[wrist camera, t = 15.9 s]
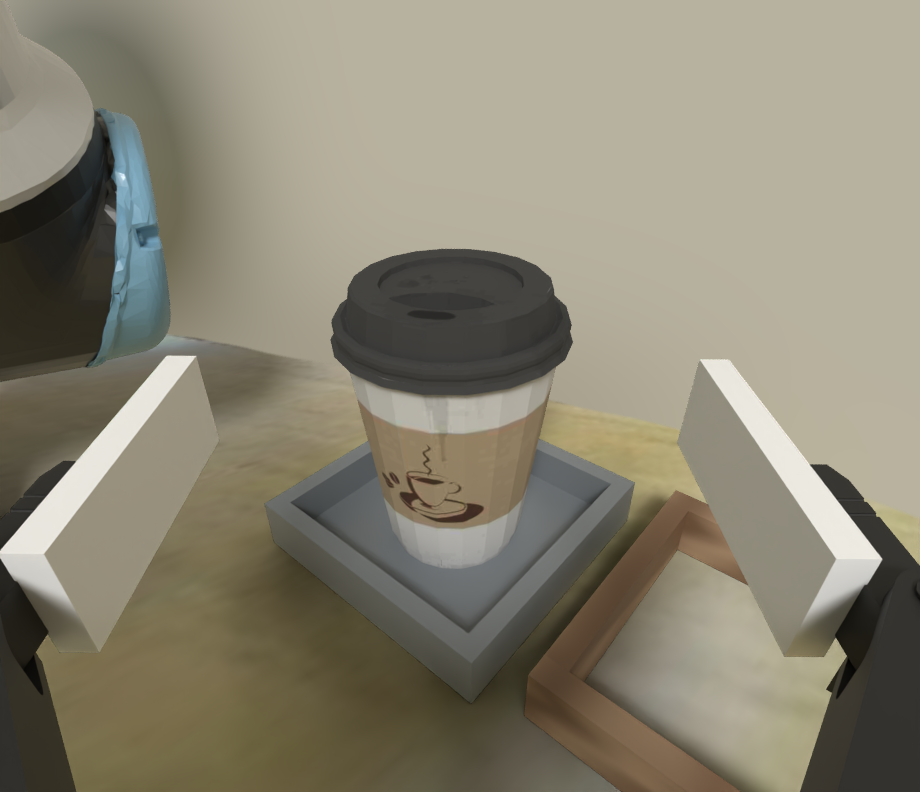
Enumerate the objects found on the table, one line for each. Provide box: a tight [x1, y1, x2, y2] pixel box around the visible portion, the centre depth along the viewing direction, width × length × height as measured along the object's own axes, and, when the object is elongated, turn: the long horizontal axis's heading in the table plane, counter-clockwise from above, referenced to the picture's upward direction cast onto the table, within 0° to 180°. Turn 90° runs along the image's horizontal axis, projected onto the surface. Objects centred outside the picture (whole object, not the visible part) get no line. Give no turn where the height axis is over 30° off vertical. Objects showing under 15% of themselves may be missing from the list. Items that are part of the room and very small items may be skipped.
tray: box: [265, 439, 635, 703], centre depth 34 cm, size 15×15×3 cm
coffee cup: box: [331, 249, 573, 569], centre depth 30 cm, size 11×11×15 cm
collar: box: [524, 491, 748, 792], centre depth 25 cm, size 15×15×3 cm
